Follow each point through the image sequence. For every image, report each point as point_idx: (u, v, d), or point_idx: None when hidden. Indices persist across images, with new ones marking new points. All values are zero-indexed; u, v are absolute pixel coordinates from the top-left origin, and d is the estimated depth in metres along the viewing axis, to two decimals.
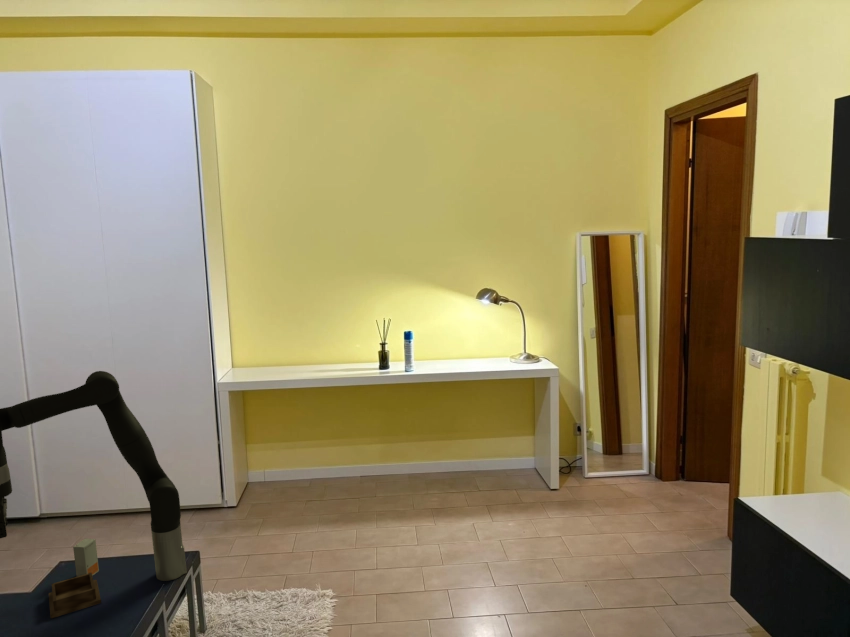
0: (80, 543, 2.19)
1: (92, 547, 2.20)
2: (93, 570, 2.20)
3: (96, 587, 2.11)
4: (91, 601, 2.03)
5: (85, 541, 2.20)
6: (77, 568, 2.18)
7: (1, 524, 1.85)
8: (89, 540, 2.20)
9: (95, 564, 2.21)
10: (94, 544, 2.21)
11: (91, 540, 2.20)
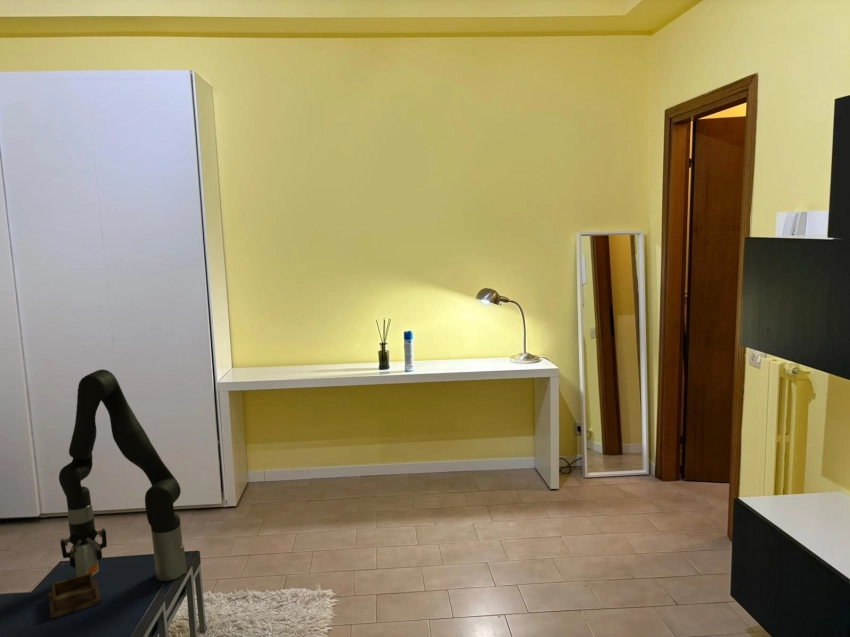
0: None
1: (92, 547, 2.20)
2: (93, 570, 2.20)
3: (96, 587, 2.11)
4: (91, 601, 2.03)
5: None
6: (77, 568, 2.18)
7: None
8: None
9: (95, 564, 2.21)
10: None
11: None
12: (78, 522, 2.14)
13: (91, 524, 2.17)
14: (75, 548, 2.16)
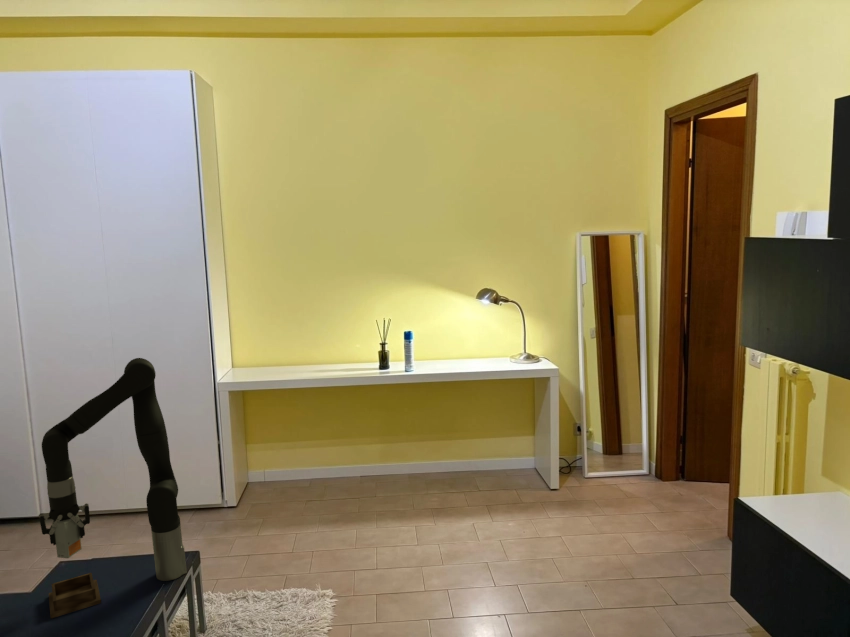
0: None
1: (74, 523, 2.04)
2: (75, 548, 2.05)
3: (96, 587, 2.11)
4: (91, 601, 2.03)
5: None
6: (57, 545, 2.02)
7: None
8: None
9: (77, 542, 2.06)
10: None
11: None
12: (58, 495, 1.98)
13: (72, 498, 2.01)
14: (55, 524, 2.01)
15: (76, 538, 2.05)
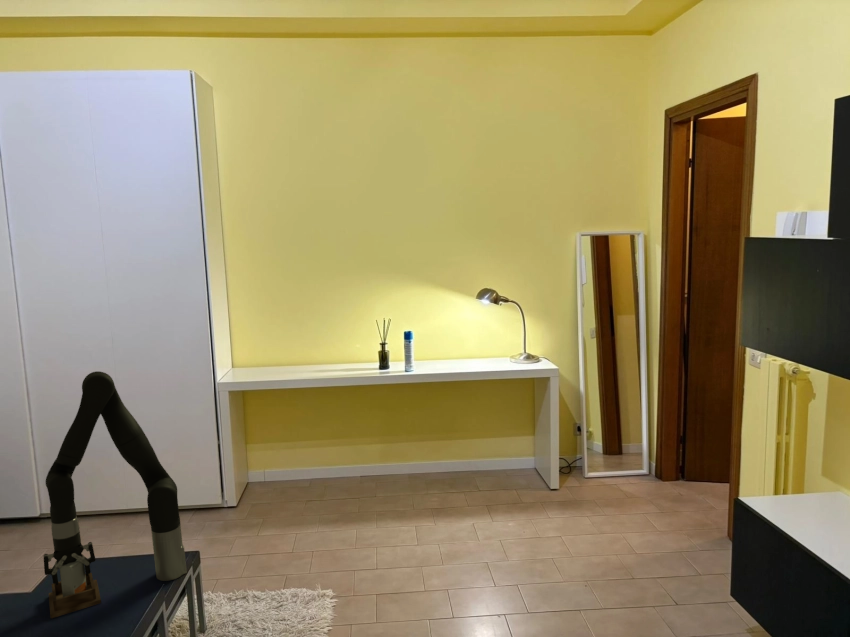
0: None
1: (80, 566, 2.05)
2: (81, 591, 2.06)
3: (96, 587, 2.11)
4: (91, 601, 2.03)
5: None
6: (63, 589, 2.03)
7: None
8: None
9: (83, 584, 2.07)
10: (82, 563, 2.06)
11: None
12: (62, 537, 1.99)
13: (76, 538, 2.02)
14: (59, 564, 2.01)
15: (82, 581, 2.06)
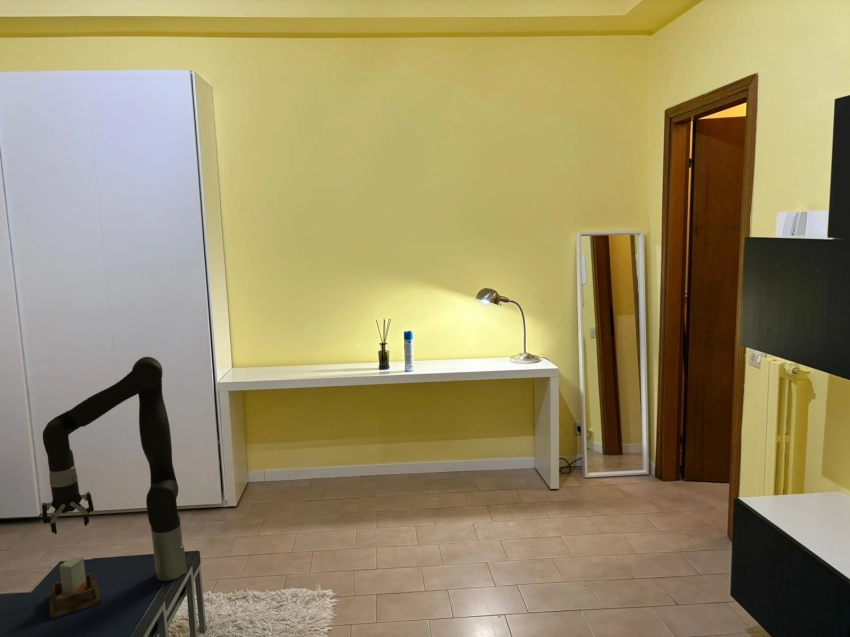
0: (67, 562, 2.04)
1: (80, 566, 2.05)
2: (81, 591, 2.06)
3: (96, 587, 2.11)
4: (91, 601, 2.03)
5: (72, 560, 2.05)
6: (63, 589, 2.03)
7: None
8: (76, 559, 2.06)
9: (83, 584, 2.07)
10: (82, 563, 2.06)
11: (79, 558, 2.06)
12: (61, 485, 2.00)
13: (74, 487, 2.03)
14: (57, 513, 2.02)
15: (82, 581, 2.06)
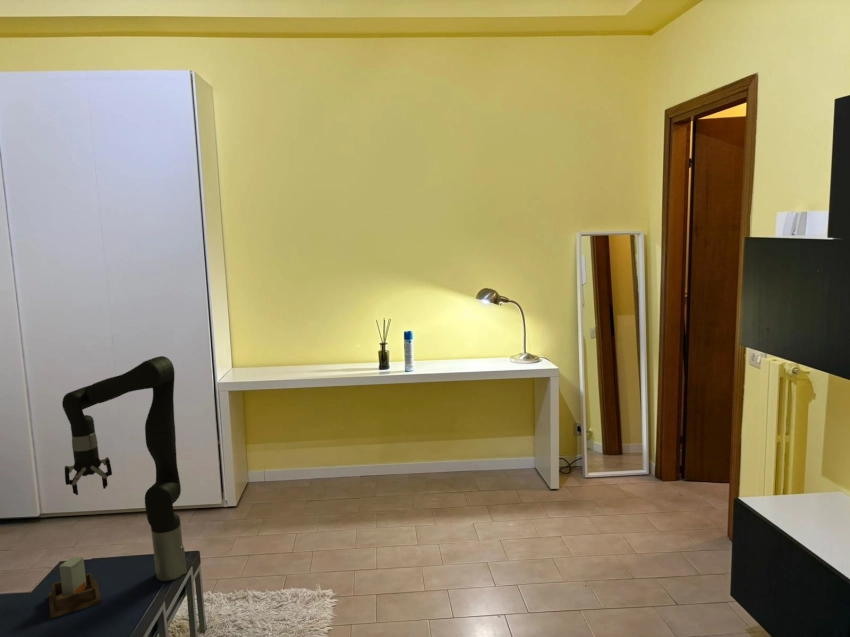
0: (67, 562, 2.04)
1: (80, 566, 2.05)
2: (81, 591, 2.06)
3: (96, 587, 2.11)
4: (91, 601, 2.03)
5: (72, 560, 2.05)
6: (63, 589, 2.03)
7: None
8: (76, 559, 2.06)
9: (83, 584, 2.07)
10: (82, 563, 2.06)
11: (79, 558, 2.06)
12: (82, 449, 2.16)
13: (95, 452, 2.19)
14: (78, 475, 2.18)
15: (82, 581, 2.06)
